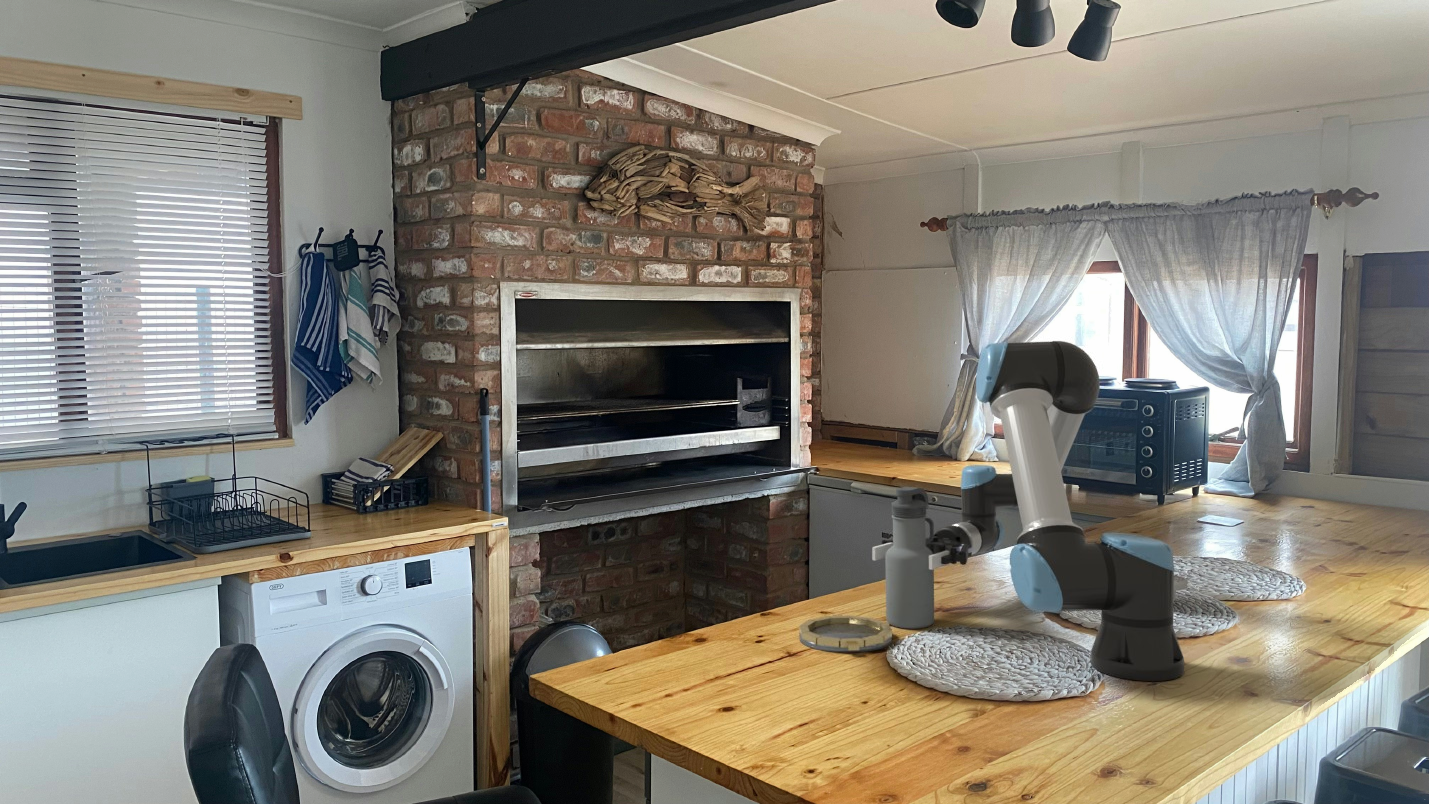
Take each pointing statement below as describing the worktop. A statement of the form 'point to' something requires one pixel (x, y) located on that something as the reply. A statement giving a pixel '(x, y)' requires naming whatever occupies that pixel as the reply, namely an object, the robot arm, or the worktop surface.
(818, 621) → the collar
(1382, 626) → the worktop surface
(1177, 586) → the showerhead
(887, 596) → the water bottle
